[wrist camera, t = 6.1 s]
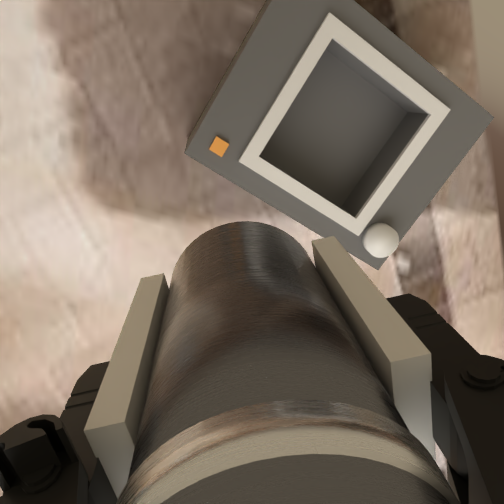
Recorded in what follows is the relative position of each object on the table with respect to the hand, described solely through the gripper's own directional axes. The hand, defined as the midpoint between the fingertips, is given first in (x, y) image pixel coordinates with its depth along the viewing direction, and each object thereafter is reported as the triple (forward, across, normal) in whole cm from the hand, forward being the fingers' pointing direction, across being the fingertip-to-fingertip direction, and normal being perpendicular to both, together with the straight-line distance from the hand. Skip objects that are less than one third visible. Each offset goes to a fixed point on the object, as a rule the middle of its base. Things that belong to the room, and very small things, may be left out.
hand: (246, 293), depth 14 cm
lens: (0, 0, 0) cm, 0 cm away
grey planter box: (+18, +7, +3) cm, 19 cm away
